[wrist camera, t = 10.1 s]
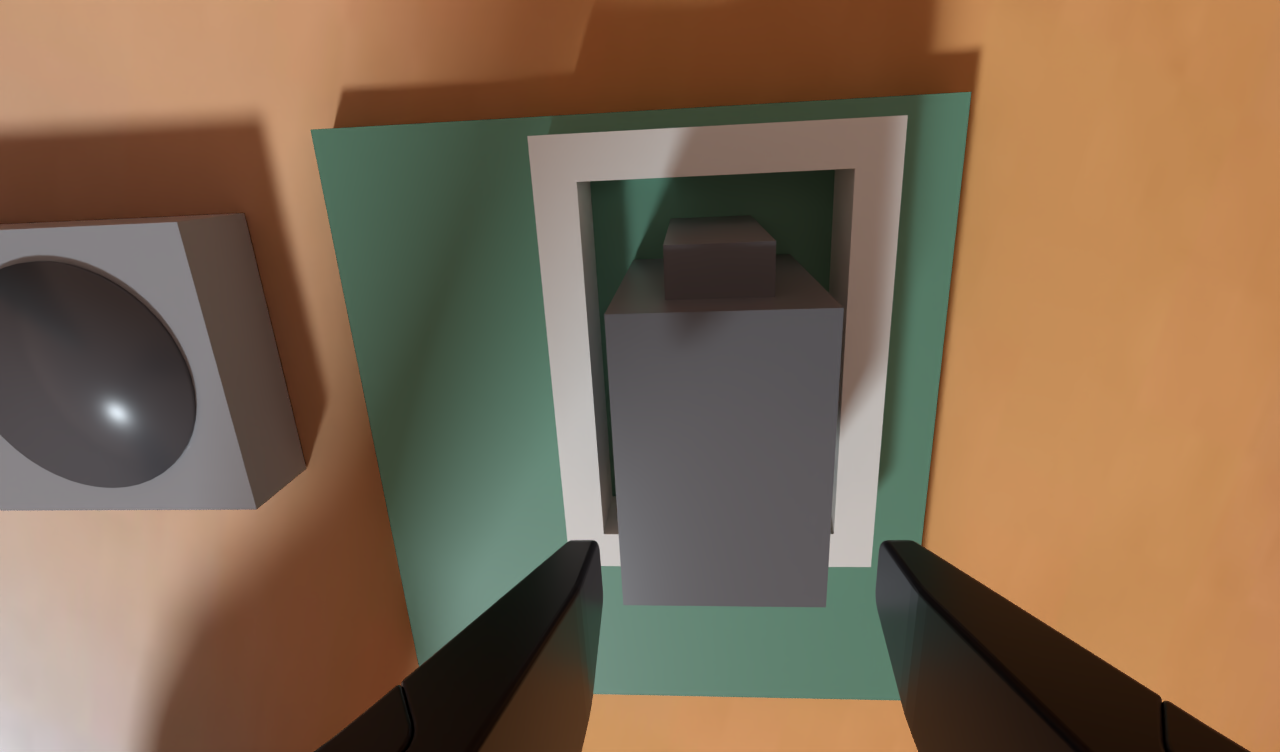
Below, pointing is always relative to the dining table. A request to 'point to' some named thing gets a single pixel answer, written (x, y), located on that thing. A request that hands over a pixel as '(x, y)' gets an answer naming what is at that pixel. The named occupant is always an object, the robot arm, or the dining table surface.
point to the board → (577, 356)
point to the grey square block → (139, 368)
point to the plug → (723, 420)
